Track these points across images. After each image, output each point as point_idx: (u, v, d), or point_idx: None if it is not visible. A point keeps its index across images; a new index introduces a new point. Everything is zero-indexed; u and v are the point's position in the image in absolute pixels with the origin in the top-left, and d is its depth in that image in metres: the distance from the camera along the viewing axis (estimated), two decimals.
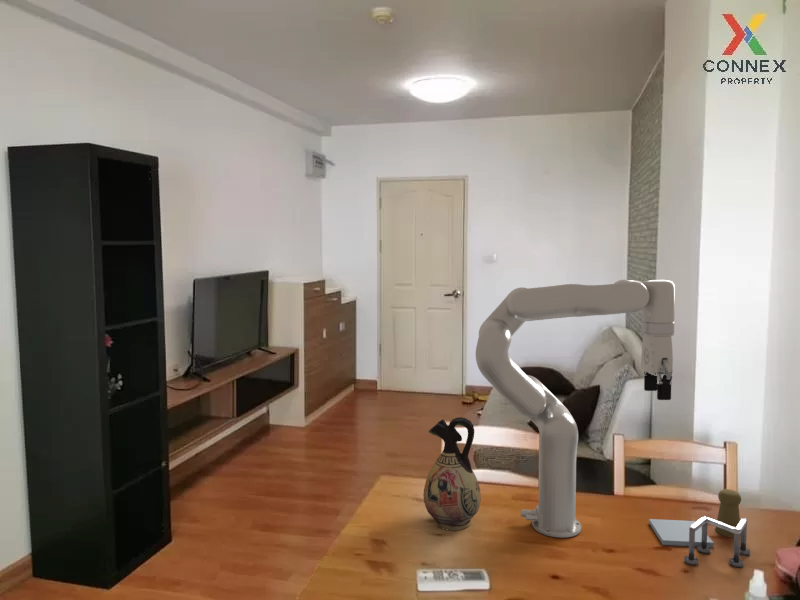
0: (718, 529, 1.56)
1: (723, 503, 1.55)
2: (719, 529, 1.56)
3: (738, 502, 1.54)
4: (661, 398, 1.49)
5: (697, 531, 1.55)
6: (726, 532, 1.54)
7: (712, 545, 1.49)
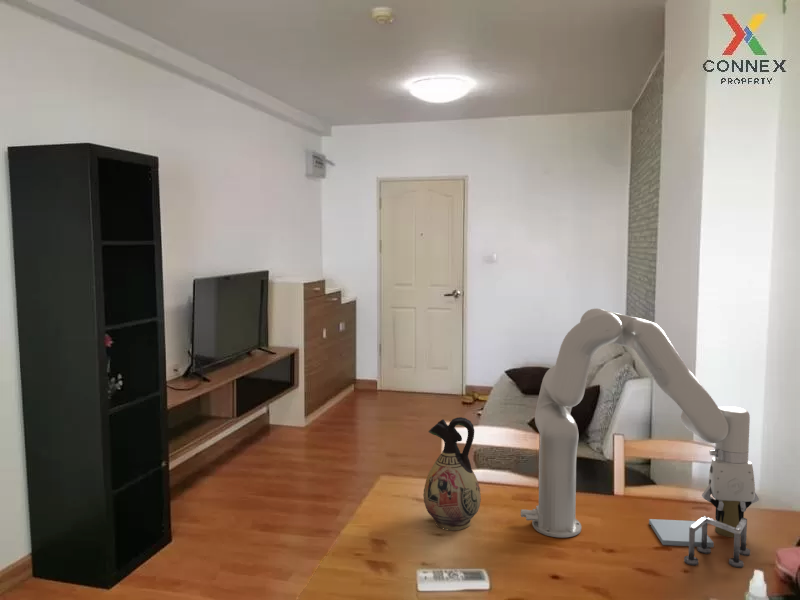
0: (718, 529, 1.56)
1: None
2: (719, 529, 1.56)
3: (737, 502, 1.54)
4: None
5: (697, 531, 1.55)
6: (726, 532, 1.54)
7: (712, 545, 1.49)
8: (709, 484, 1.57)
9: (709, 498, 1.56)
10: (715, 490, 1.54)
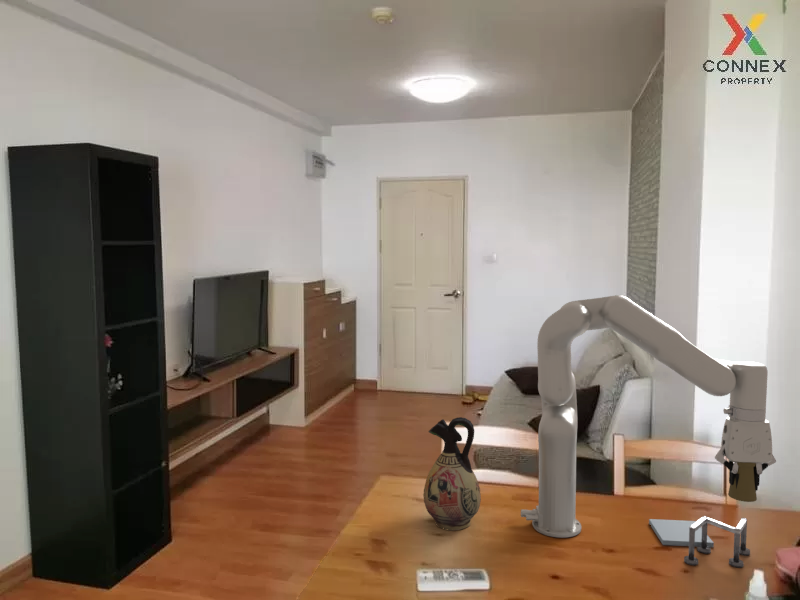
0: (731, 493, 1.45)
1: None
2: (732, 493, 1.45)
3: (753, 464, 1.43)
4: None
5: (697, 531, 1.55)
6: (740, 496, 1.43)
7: (712, 545, 1.49)
8: (723, 445, 1.46)
9: (722, 460, 1.45)
10: (730, 451, 1.43)
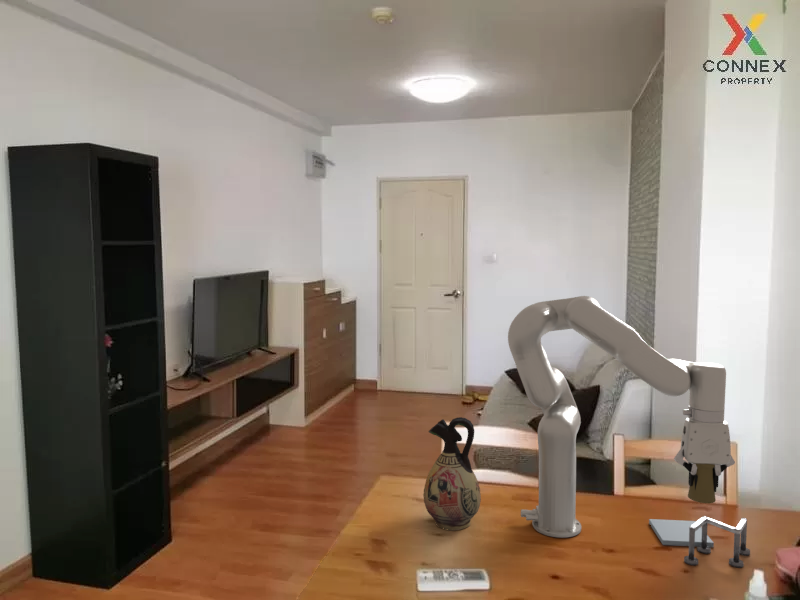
0: (690, 495, 1.45)
1: None
2: (691, 495, 1.44)
3: (712, 465, 1.42)
4: None
5: (697, 531, 1.55)
6: (699, 498, 1.43)
7: (712, 545, 1.49)
8: (682, 446, 1.45)
9: (681, 462, 1.45)
10: (688, 452, 1.42)
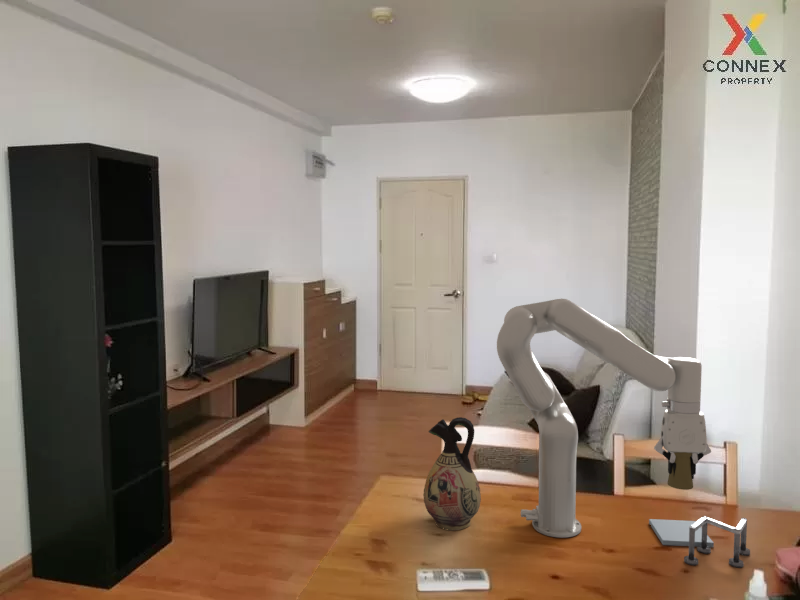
0: (670, 482, 1.54)
1: None
2: (670, 482, 1.54)
3: (689, 454, 1.51)
4: None
5: (697, 531, 1.55)
6: (677, 484, 1.52)
7: (712, 545, 1.49)
8: (661, 436, 1.54)
9: (661, 451, 1.54)
10: (666, 441, 1.51)
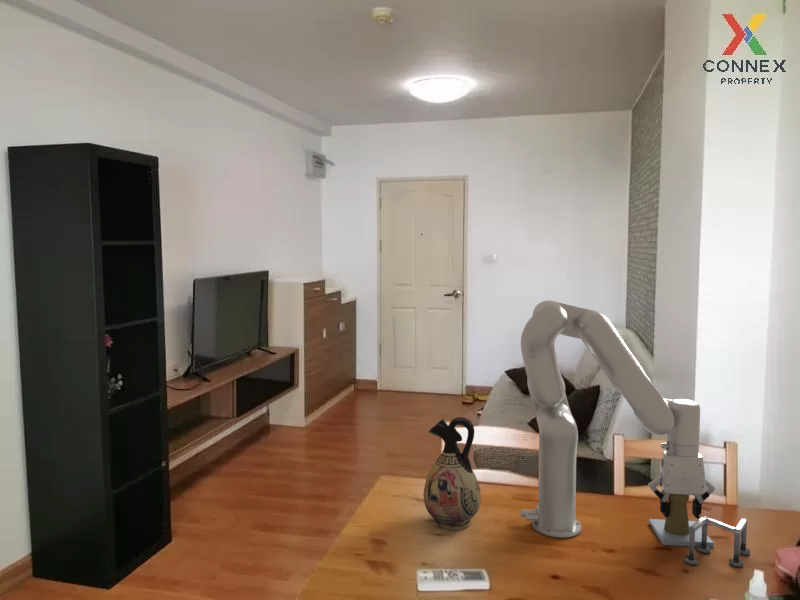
0: (666, 527, 1.55)
1: (671, 501, 1.54)
2: (667, 527, 1.55)
3: (685, 500, 1.52)
4: None
5: (697, 531, 1.55)
6: (673, 530, 1.53)
7: (712, 545, 1.49)
8: (659, 475, 1.55)
9: (654, 489, 1.55)
10: (665, 483, 1.52)
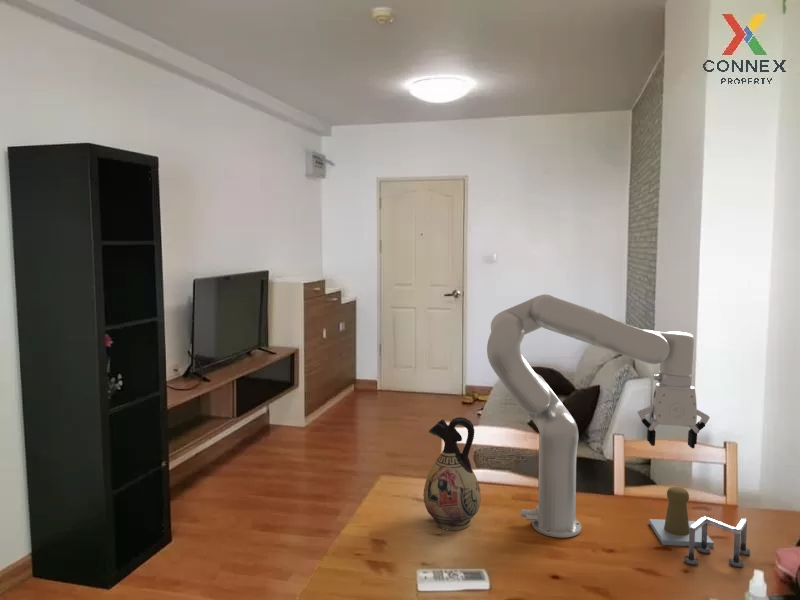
0: (666, 527, 1.55)
1: (671, 501, 1.54)
2: (667, 527, 1.55)
3: (685, 500, 1.52)
4: None
5: (697, 531, 1.55)
6: (673, 530, 1.53)
7: (712, 545, 1.49)
8: (650, 406, 1.56)
9: (642, 417, 1.55)
10: (657, 414, 1.53)
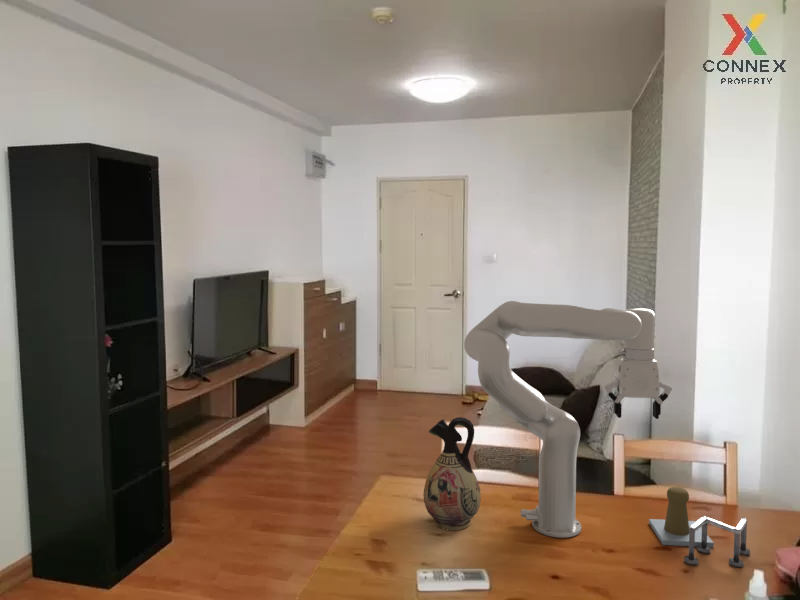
0: (666, 527, 1.55)
1: (671, 501, 1.54)
2: (667, 527, 1.55)
3: (685, 500, 1.52)
4: None
5: (697, 531, 1.55)
6: (673, 530, 1.53)
7: (712, 545, 1.49)
8: (616, 380, 1.63)
9: (609, 390, 1.63)
10: (622, 387, 1.60)
